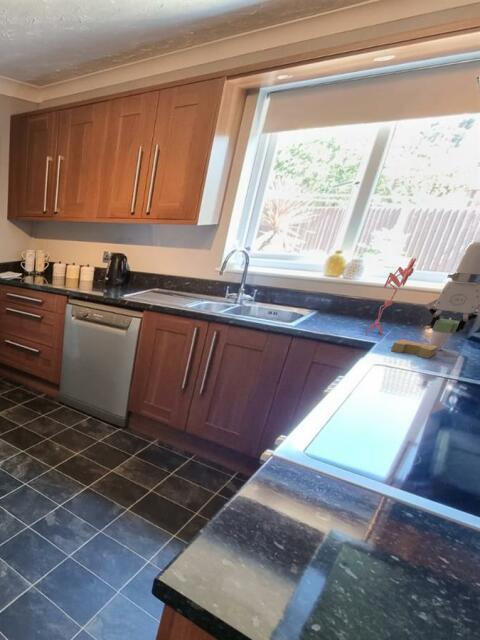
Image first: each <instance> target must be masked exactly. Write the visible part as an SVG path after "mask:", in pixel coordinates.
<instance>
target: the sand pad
mask: <svg viewBox="0 0 480 640" xmlns="http://www.w3.org/2000/svg"><path fill="white" fill-rule="evenodd" d="M437 348H438V346H434V345H429V343H428V344H427V343H423V342H417V341H411V340H408V339H407V340H406V339H403V338H402V339H399V340H397V341H395V342H394V343H393V344H392V346H391V349H390V352H395V353H398V354H402V353H406V354H410V355H415V356H417V357H419V358H423V359H429V358H431V357H433V356H434V355H435V354H436V352H437V351H438V350H437Z"/></svg>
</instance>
